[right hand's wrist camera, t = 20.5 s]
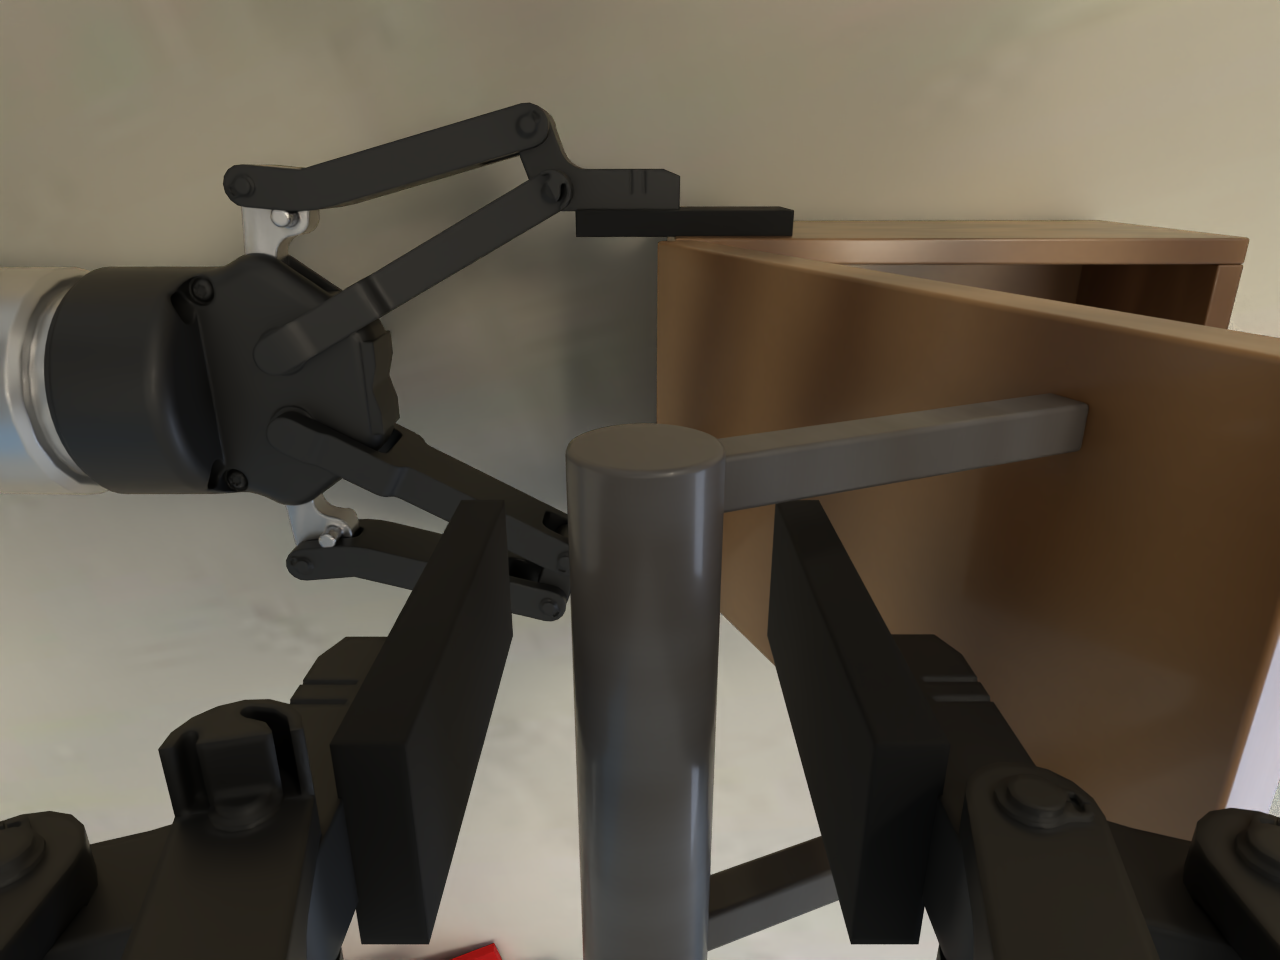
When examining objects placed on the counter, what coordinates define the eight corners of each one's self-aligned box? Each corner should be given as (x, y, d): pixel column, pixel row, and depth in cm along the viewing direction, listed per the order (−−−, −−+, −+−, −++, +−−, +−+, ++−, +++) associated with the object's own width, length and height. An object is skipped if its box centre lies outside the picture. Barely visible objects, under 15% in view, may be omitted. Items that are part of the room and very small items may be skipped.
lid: (1425, 361, 9) (715, 469, 6) (1207, 1004, 12) (688, 1294, 9) (694, 239, 24) (388, 251, 21) (687, 544, 27) (424, 593, 24)
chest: (1099, 220, 32) (1251, 237, 24) (1055, 455, 35) (1176, 539, 27) (667, 220, 32) (674, 238, 24) (664, 455, 36) (670, 539, 27)
